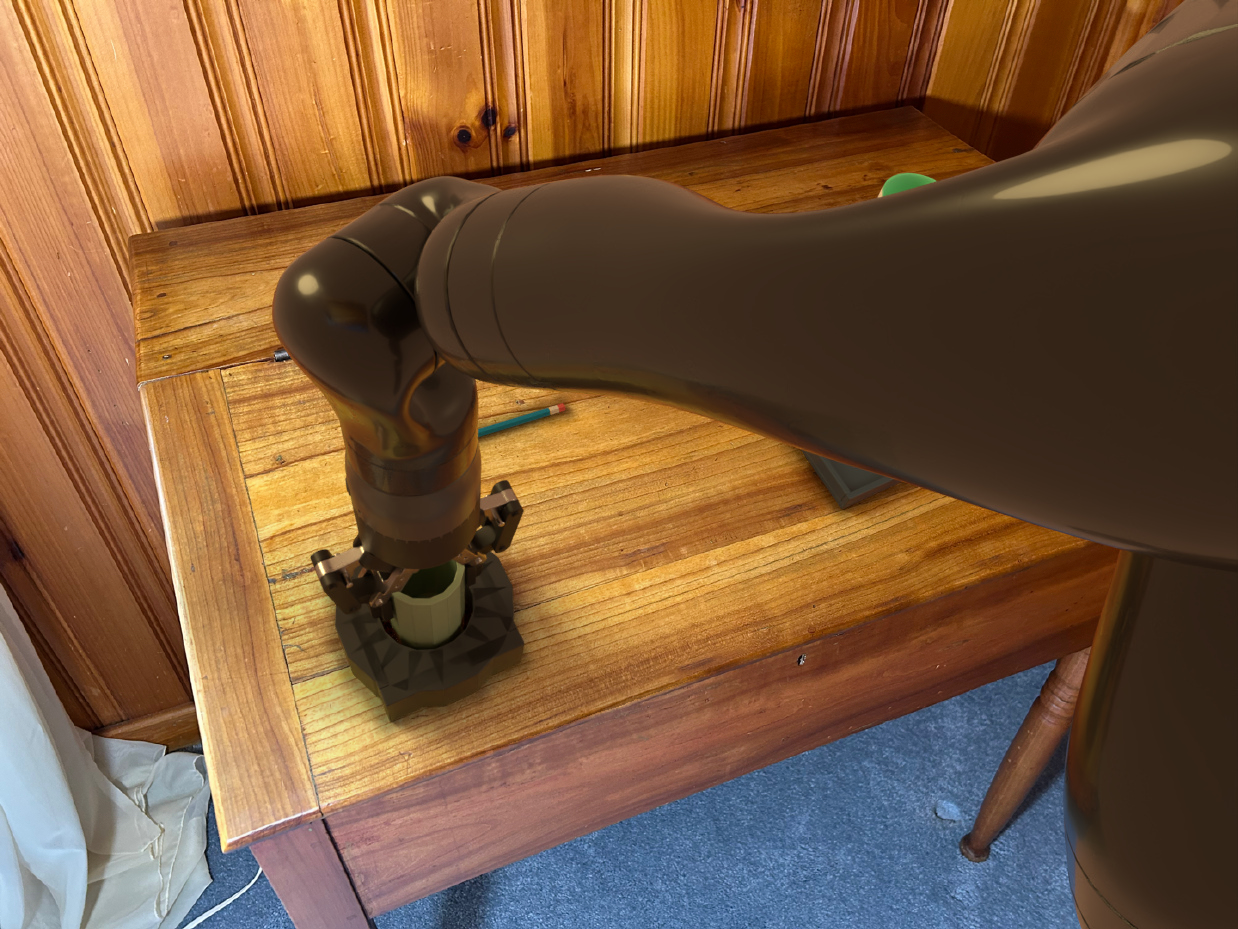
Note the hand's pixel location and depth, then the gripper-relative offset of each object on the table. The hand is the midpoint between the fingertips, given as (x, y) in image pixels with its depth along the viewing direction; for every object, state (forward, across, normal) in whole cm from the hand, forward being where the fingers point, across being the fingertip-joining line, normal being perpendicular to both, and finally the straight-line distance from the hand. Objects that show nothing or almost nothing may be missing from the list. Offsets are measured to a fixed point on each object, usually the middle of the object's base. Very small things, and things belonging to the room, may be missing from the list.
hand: (425, 591), depth 68 cm
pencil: (+8, +11, +15) cm, 20 cm away
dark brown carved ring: (+7, 0, 0) cm, 7 cm away
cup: (+7, 0, 0) cm, 7 cm away
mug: (+8, +62, +17) cm, 65 cm away
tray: (+8, +45, +3) cm, 46 cm away
